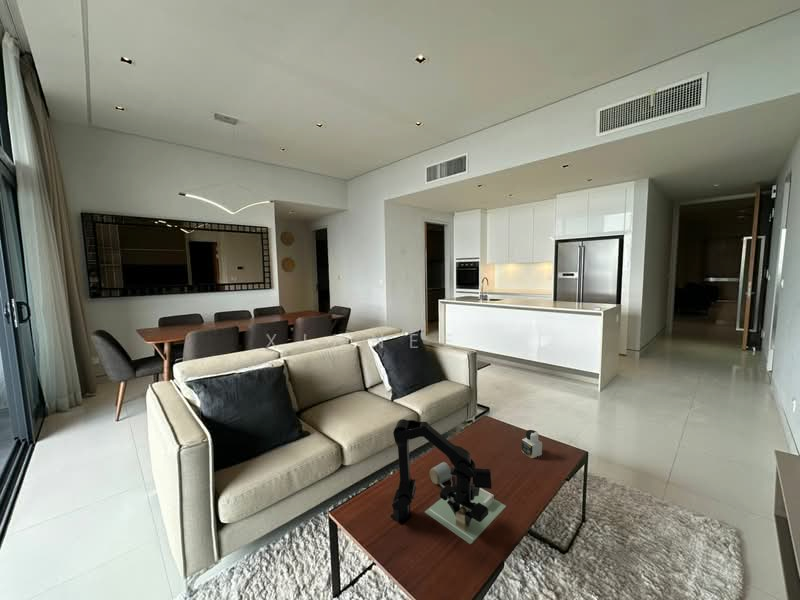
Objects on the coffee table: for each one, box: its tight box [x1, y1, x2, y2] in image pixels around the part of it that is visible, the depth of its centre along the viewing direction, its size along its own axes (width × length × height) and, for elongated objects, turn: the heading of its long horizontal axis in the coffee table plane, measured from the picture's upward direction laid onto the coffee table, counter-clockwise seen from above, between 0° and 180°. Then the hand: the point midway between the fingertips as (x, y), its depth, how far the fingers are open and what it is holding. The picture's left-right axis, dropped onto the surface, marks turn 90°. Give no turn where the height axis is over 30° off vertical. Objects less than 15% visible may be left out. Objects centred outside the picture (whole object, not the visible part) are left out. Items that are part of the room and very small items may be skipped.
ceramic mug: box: [429, 461, 453, 489], centre depth 150 cm, size 11×8×8 cm
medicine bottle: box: [521, 429, 543, 459], centre depth 171 cm, size 7×7×12 cm
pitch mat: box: [424, 493, 507, 545], centre depth 134 cm, size 26×22×1 cm
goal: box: [479, 488, 495, 508], centre depth 140 cm, size 6×12×3 cm, turn 44°
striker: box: [456, 506, 471, 531], centre depth 126 cm, size 4×4×8 cm
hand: (463, 522), depth 126 cm, fingers closed on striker, 4 cm apart
